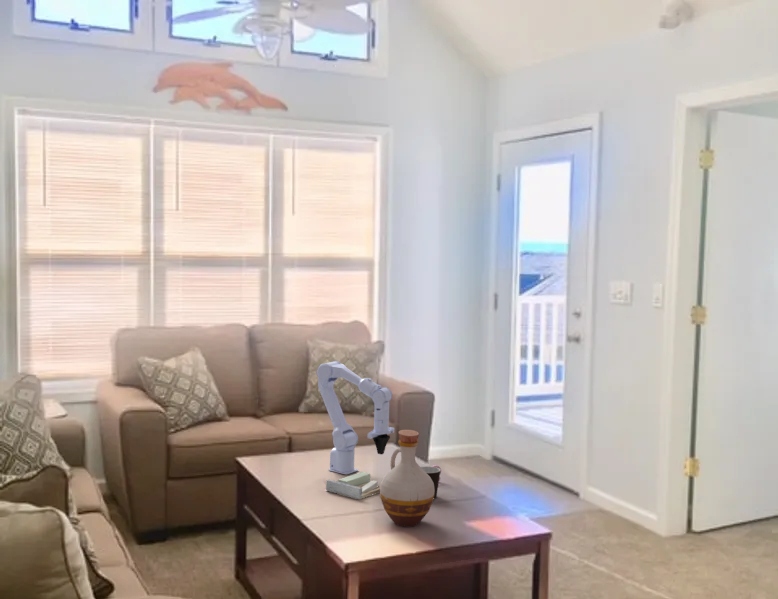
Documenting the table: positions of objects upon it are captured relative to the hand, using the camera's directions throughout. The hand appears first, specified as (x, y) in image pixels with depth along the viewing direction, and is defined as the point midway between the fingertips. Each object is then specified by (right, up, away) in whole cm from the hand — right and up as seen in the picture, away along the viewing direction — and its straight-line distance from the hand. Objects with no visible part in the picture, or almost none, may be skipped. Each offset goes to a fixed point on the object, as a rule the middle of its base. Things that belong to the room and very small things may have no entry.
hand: (380, 453), depth 314 cm
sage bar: (-10, -10, -12) cm, 18 cm away
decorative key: (+14, -11, -7) cm, 19 cm away
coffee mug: (+16, -11, -21) cm, 29 cm away
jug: (+8, -13, -49) cm, 52 cm away
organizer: (-8, -10, -16) cm, 21 cm away
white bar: (-5, -11, -17) cm, 21 cm away
